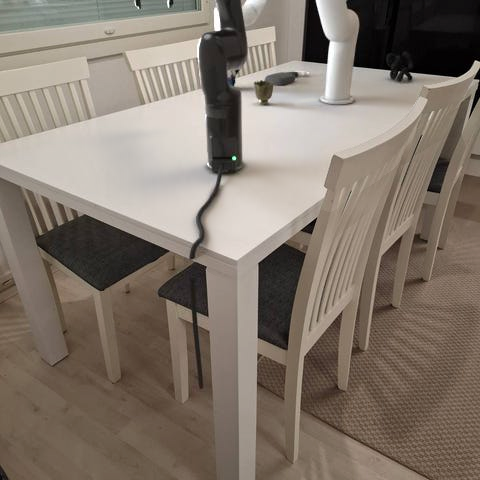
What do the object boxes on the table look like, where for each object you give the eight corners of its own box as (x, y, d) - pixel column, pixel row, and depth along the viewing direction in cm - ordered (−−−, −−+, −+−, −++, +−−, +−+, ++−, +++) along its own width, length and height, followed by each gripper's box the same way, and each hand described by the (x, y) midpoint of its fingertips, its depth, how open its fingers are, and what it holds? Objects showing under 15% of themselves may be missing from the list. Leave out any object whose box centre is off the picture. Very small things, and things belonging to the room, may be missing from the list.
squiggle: (400, 92, 202) (376, 71, 205) (417, 76, 202) (392, 56, 205) (405, 81, 191) (380, 59, 194) (423, 64, 191) (397, 42, 194)
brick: (232, 90, 191) (232, 79, 188) (222, 91, 190) (222, 80, 187) (229, 87, 195) (229, 77, 192) (219, 88, 194) (219, 77, 191)
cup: (250, 105, 169) (250, 83, 165) (259, 100, 175) (259, 79, 171) (268, 107, 166) (268, 85, 162) (276, 102, 172) (277, 80, 168)
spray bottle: (262, 82, 200) (292, 74, 216) (282, 86, 194) (312, 76, 210) (262, 76, 198) (293, 67, 214) (282, 79, 192) (312, 70, 208)
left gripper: (171, -61, 122) (177, 6, 131) (118, -61, 118) (127, 8, 127) (176, -62, 116) (182, 8, 125) (121, -62, 112) (130, 10, 121)
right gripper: (241, 38, 187) (242, 82, 197) (201, 40, 183) (204, 86, 192) (247, 40, 181) (247, 86, 191) (206, 43, 177) (209, 90, 186)
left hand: (154, 8), depth 126 cm, fingers open, 8 cm apart
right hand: (226, 85), depth 191 cm, fingers open, 5 cm apart
